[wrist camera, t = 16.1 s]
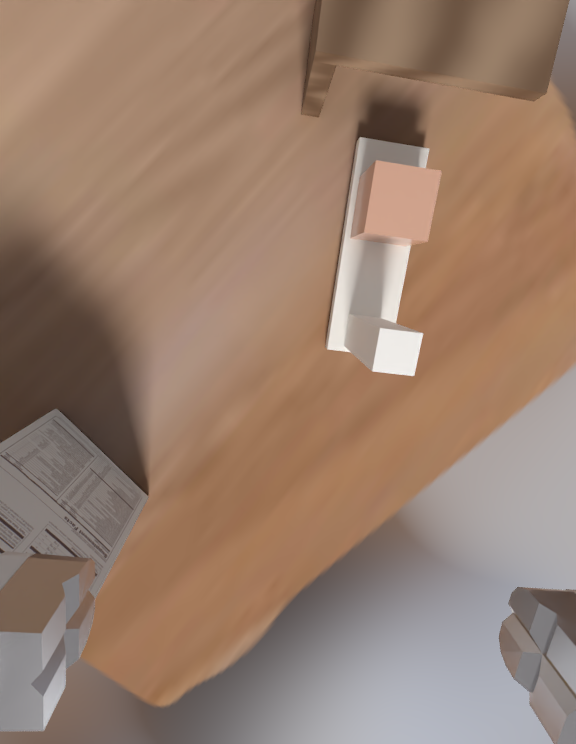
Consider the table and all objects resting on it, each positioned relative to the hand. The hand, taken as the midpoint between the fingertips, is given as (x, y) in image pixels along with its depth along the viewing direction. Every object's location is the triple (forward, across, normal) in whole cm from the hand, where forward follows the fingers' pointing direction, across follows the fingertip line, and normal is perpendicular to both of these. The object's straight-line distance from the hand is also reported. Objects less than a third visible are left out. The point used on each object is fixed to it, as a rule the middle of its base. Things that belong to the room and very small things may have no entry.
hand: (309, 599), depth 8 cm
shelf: (+31, -8, -23) cm, 39 cm away
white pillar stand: (+31, -8, -9) cm, 33 cm away
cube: (+30, -8, -12) cm, 33 cm away
